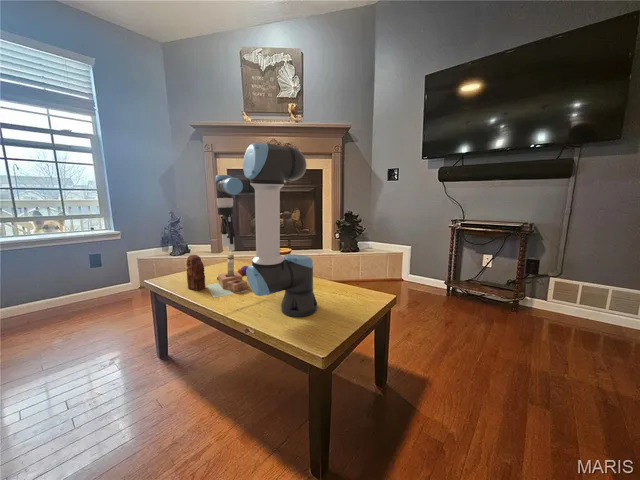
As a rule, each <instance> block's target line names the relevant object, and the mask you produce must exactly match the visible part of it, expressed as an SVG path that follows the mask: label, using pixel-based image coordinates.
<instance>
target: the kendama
mask: <svg viewBox="0 0 640 480" xmlns="http://www.w3.org/2000/svg"><path fill="white" fill-rule="evenodd" d="M248 267H249V266H248V265H244V266H242V267H241V268H239V269H238V270H237V271H236V272H238V273H239V274H240V275H241V276H242V277H243V276H247V275H246V270H247V268H248ZM216 280H217V281H218V282H219V279H218V276H217V277H216Z"/></svg>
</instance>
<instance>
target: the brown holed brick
mask: <svg viewBox="0 0 640 480" xmlns="http://www.w3.org/2000/svg"><path fill="white" fill-rule="evenodd" d="M227 290H229V291H231V292H233V293H235V294H238V293H237V292H240V293H242V292H241V291H244V290H248V281H246V280H243V279H242V280H241V279H237V280H233V281H229V282H227Z"/></svg>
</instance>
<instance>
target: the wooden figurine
mask: <svg viewBox="0 0 640 480" xmlns="http://www.w3.org/2000/svg"><path fill="white" fill-rule="evenodd" d="M186 267H187V268H186V280H187V281H186V282H187V289H188V290H192V291H194V292H201V291H203V290H205V289H206V275H205V274H206V273H205V267H204V263H203V261H202V258H201V257H200V256H199V255H197V254H191V255H188V256H187V258H186Z"/></svg>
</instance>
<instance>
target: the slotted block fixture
mask: <svg viewBox="0 0 640 480" xmlns="http://www.w3.org/2000/svg"><path fill="white" fill-rule="evenodd" d="M217 277H218V279H219V281H218V282H217V283H211V284H206V287H207V289H208V291H209V292H210V294H211V296H212V298H214V299H215V298H219V297H224V296H225V297H226V296H229V295H234V294H239V293H244V292H248V289H247V290H244V291H241V292H237V293H233V292H231V291H229V290H227V282H229V281H233V280H237V279H241V280H243V275H242V276H241V275H240V274H239V273H238V272H237V271H234V276H231V277H228V272H224V273H219V274H217Z"/></svg>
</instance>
